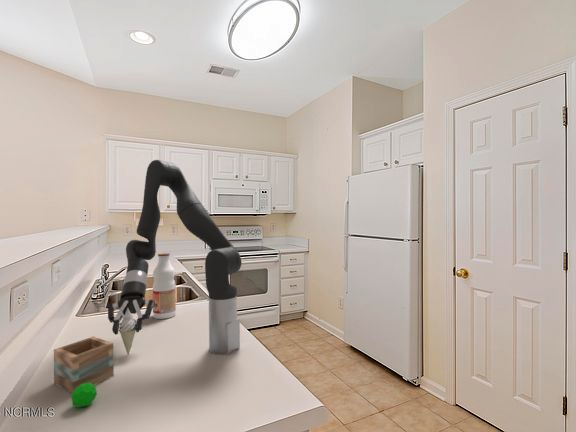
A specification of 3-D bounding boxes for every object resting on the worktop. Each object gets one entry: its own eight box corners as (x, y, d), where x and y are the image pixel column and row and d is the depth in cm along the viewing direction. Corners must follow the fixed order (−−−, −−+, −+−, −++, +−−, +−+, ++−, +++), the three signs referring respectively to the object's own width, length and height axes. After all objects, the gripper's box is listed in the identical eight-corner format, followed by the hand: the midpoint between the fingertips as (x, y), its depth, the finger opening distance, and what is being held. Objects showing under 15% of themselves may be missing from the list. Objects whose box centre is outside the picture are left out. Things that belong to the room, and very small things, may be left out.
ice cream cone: (118, 359, 93) (118, 310, 93) (119, 352, 98) (119, 306, 98) (137, 355, 96) (136, 308, 96) (136, 349, 100) (136, 304, 100)
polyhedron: (88, 411, 68) (88, 390, 68) (66, 412, 68) (65, 391, 68) (101, 398, 73) (100, 378, 73) (79, 399, 73) (79, 379, 73)
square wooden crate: (113, 375, 84) (113, 343, 84) (73, 394, 75) (73, 357, 75) (93, 367, 88) (93, 336, 89) (53, 383, 80) (53, 349, 80)
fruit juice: (170, 319, 130) (169, 254, 130) (148, 319, 130) (148, 254, 130) (179, 312, 139) (178, 251, 139) (159, 312, 139) (158, 252, 140)
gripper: (109, 281, 102) (97, 329, 90) (155, 278, 106) (149, 324, 94) (114, 293, 107) (103, 340, 96) (157, 290, 111) (152, 335, 99)
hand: (126, 332), depth 95 cm, fingers open, 5 cm apart
